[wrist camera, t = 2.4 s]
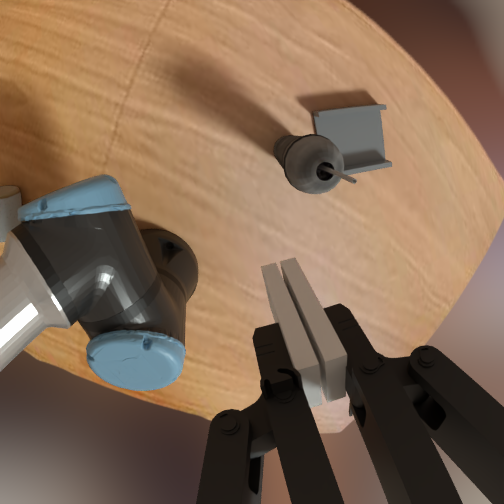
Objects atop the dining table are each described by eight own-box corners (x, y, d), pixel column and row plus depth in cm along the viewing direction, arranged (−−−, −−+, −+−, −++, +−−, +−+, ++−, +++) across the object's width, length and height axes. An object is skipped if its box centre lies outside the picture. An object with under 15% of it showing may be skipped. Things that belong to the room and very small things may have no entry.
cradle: (322, 175, 46) (328, 179, 44) (312, 111, 41) (318, 112, 39) (384, 163, 47) (392, 166, 45) (377, 104, 42) (385, 104, 39)
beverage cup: (262, 129, 42) (304, 146, 24) (308, 125, 42) (376, 142, 25) (267, 175, 45) (308, 223, 28) (311, 169, 46) (375, 214, 28)
